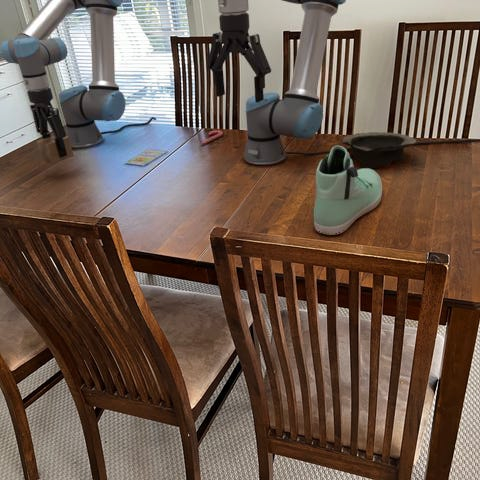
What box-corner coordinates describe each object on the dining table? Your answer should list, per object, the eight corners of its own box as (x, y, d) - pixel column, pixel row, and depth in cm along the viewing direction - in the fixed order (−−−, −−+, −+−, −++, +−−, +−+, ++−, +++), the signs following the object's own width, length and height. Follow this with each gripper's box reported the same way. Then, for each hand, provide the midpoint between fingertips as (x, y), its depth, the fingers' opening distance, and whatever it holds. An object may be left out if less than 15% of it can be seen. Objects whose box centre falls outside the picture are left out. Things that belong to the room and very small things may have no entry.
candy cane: (192, 143, 195) (191, 140, 194) (214, 132, 205) (214, 128, 204) (203, 146, 192) (203, 142, 191) (225, 134, 202) (225, 130, 201)
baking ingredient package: (124, 162, 180) (148, 148, 192) (124, 163, 181) (148, 150, 192) (143, 164, 177) (166, 151, 188) (143, 166, 177) (166, 152, 189)
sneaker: (389, 187, 148) (396, 123, 138) (356, 242, 123) (361, 168, 112) (346, 181, 154) (350, 119, 144) (306, 232, 129) (307, 161, 118)
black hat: (374, 178, 154) (374, 150, 149) (327, 160, 174) (326, 135, 170) (431, 159, 163) (433, 133, 158) (380, 144, 183) (380, 120, 179)
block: (42, 160, 170) (36, 141, 166) (62, 152, 176) (57, 134, 172) (53, 164, 166) (47, 144, 163) (73, 156, 172) (68, 137, 168)
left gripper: (12, 88, 161) (32, 152, 173) (45, 95, 150) (64, 163, 162) (32, 83, 166) (50, 146, 178) (65, 89, 155) (82, 155, 167)
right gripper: (187, 14, 125) (197, 96, 136) (265, 16, 111) (268, 107, 122) (207, 10, 130) (214, 90, 141) (283, 11, 116) (285, 99, 127)
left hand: (57, 154), depth 170 cm, fingers closed on block, 7 cm apart
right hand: (239, 98), depth 131 cm, fingers open, 13 cm apart
